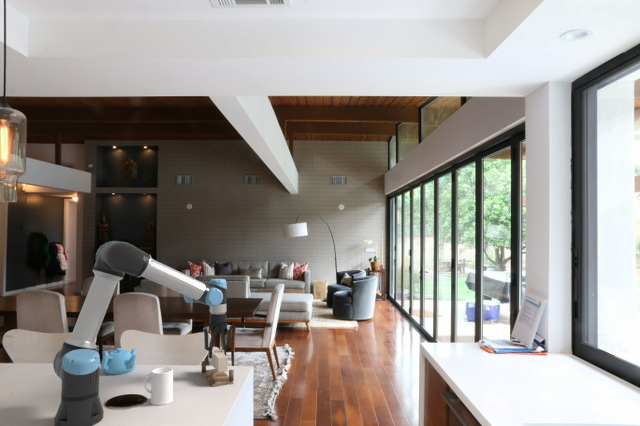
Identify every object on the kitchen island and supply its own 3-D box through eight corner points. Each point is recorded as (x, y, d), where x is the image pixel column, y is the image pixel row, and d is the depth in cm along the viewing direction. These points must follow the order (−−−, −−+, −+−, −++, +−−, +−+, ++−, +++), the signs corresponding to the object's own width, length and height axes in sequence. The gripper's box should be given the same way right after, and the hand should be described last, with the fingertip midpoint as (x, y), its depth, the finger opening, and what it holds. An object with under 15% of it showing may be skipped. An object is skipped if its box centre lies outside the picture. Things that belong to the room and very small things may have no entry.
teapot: (102, 368, 218) (103, 346, 218) (135, 365, 223) (136, 343, 224) (100, 377, 204) (100, 353, 204) (135, 374, 209) (136, 350, 210)
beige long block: (227, 371, 196) (227, 357, 196) (218, 372, 194) (218, 358, 194) (216, 359, 214) (216, 346, 214) (208, 360, 212) (208, 347, 212)
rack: (234, 383, 196) (234, 370, 196) (211, 387, 191) (211, 374, 192) (221, 370, 216) (222, 358, 216) (200, 372, 211) (201, 361, 211)
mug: (138, 403, 172) (138, 371, 173) (151, 395, 181) (152, 365, 181) (165, 406, 170) (165, 374, 170) (177, 398, 178) (178, 367, 178)
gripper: (234, 310, 212) (233, 360, 211) (197, 313, 205) (196, 364, 203) (238, 312, 205) (238, 364, 204) (200, 315, 198) (200, 369, 197)
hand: (217, 364), depth 204 cm, fingers closed on beige long block, 4 cm apart
